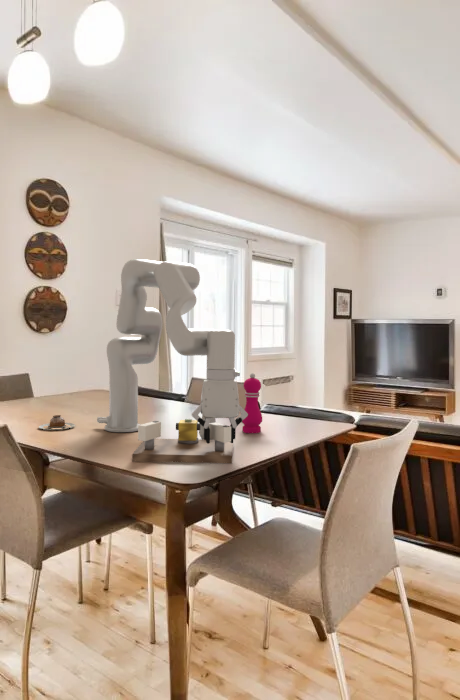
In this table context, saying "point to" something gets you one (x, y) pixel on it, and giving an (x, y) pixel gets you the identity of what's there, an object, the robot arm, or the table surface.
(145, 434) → the knob left
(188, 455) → the level base
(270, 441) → the table surface
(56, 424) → the pastry
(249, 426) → the pepper mill
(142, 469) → the table surface
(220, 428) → the knob right
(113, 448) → the table surface
